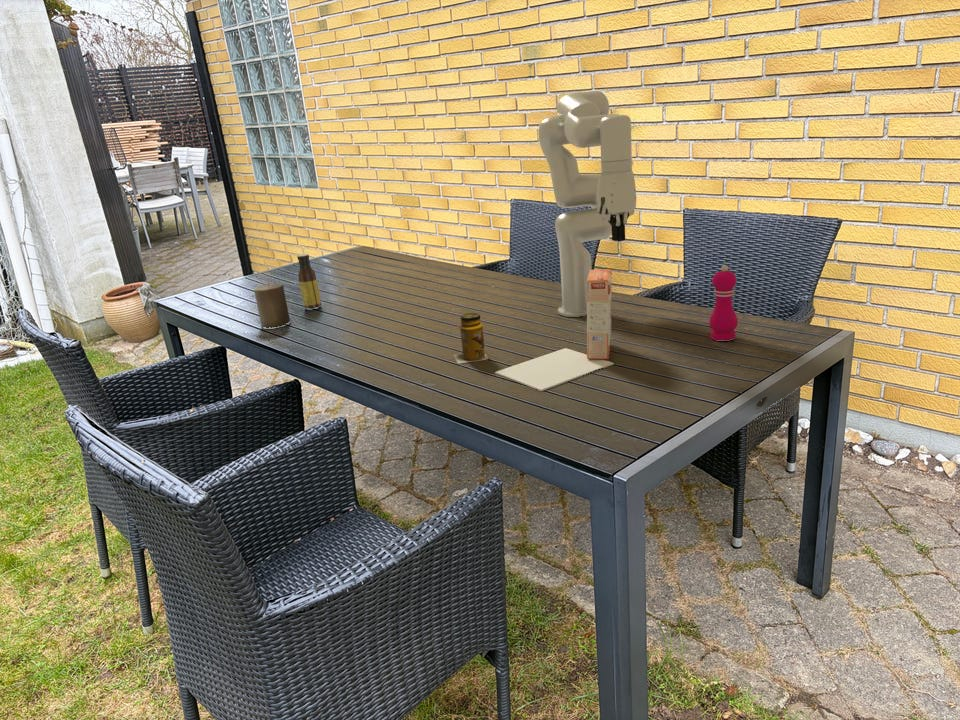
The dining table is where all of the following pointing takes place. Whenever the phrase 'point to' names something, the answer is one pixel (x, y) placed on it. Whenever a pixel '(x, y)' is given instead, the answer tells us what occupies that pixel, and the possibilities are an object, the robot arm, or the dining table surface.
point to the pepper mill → (723, 306)
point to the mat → (553, 369)
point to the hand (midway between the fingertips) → (618, 240)
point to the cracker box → (598, 314)
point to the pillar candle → (272, 305)
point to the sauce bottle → (308, 283)
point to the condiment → (471, 339)
